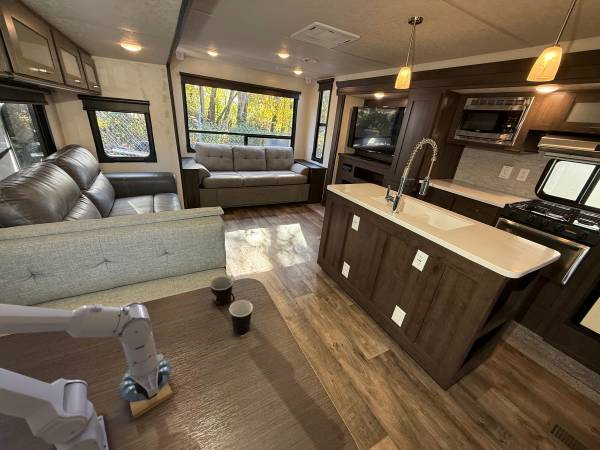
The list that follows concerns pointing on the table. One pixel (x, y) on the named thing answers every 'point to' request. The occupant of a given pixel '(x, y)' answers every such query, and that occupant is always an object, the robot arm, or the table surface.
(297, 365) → the table surface
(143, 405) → the hook stand
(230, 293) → the coffee mug
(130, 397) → the blue beaded bracelet
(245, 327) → the dixie cup
